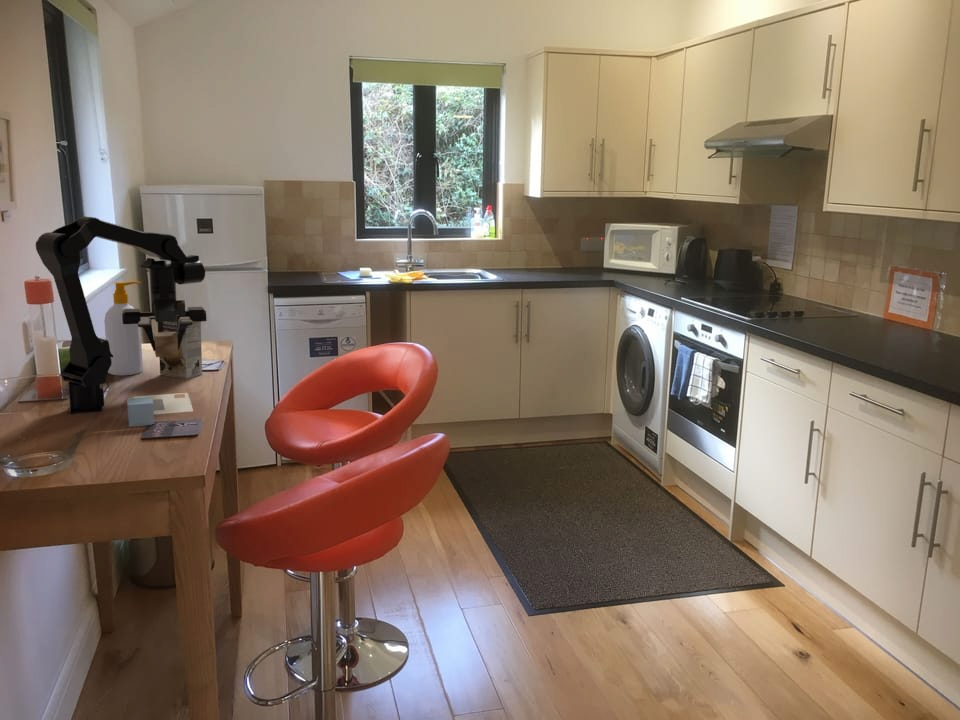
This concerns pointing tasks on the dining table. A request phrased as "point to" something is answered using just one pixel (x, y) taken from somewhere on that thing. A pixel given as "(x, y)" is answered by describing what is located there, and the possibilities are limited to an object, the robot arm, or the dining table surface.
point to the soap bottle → (123, 336)
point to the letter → (170, 403)
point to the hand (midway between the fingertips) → (166, 350)
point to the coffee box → (183, 352)
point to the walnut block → (166, 344)
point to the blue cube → (140, 411)
